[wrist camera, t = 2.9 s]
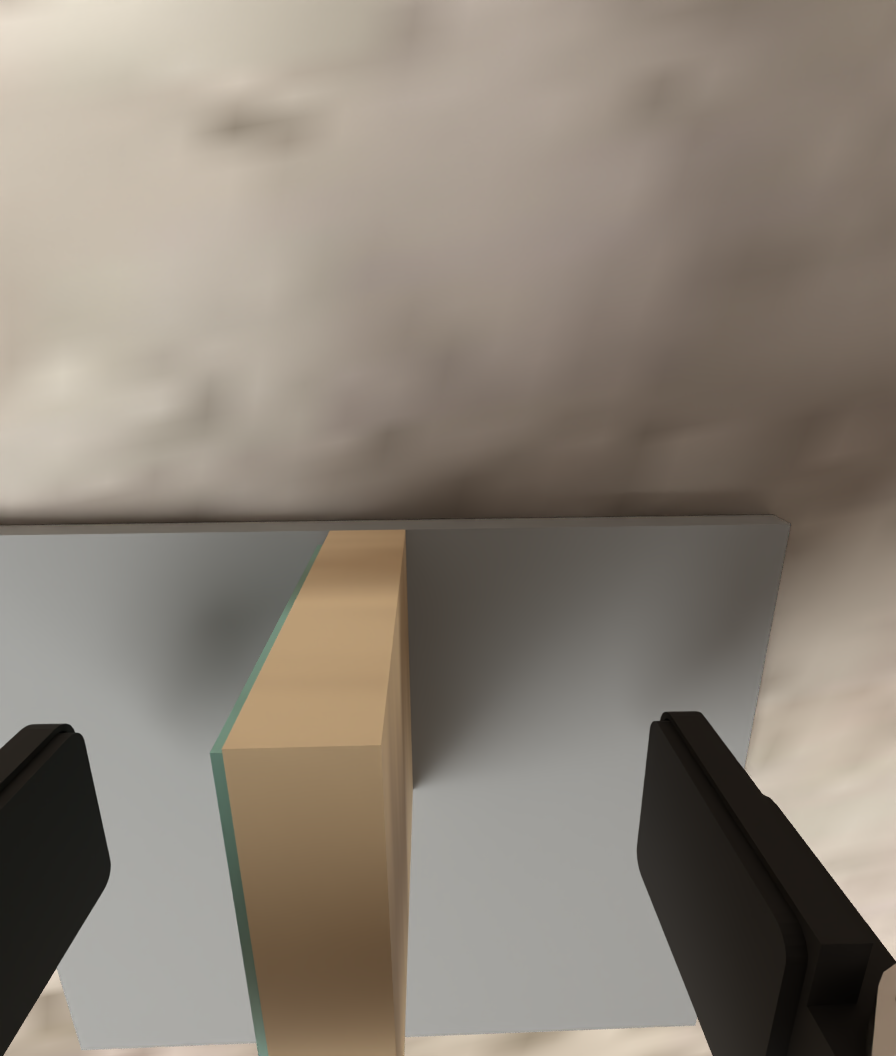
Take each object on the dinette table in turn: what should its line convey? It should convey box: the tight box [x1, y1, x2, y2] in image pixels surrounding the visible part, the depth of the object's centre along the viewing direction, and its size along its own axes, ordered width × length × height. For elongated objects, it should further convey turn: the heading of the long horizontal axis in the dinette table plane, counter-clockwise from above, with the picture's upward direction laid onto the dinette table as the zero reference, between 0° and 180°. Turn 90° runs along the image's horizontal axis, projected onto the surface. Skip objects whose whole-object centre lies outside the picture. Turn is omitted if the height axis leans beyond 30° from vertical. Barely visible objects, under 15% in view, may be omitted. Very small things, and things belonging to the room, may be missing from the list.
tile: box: [210, 530, 413, 1056], centre depth 9 cm, size 6×2×6 cm, turn 0°
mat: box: [0, 515, 791, 1050], centre depth 13 cm, size 14×16×1 cm
